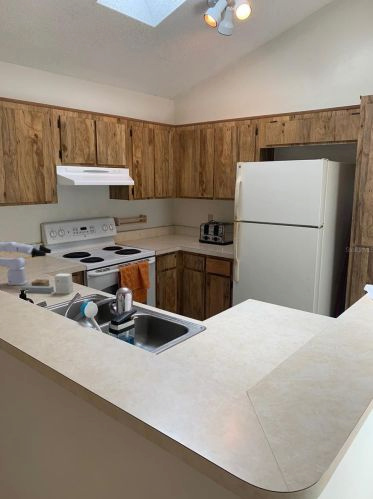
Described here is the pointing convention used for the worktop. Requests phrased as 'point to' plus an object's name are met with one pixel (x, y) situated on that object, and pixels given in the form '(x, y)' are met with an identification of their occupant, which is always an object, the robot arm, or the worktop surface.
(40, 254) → the robot arm
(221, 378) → the worktop surface
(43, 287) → the board
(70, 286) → the small box
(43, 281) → the walnut block
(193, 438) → the worktop surface
